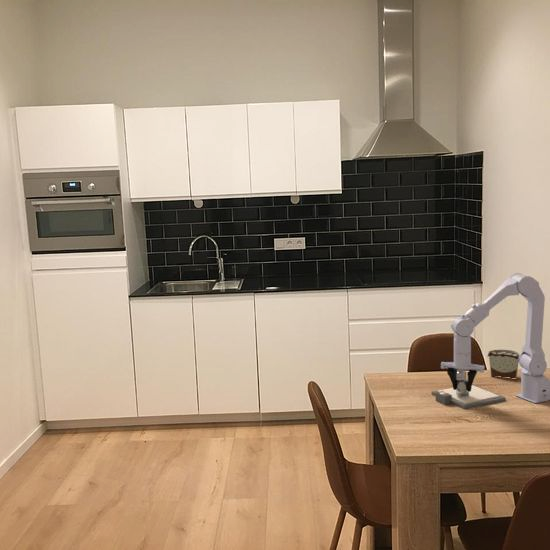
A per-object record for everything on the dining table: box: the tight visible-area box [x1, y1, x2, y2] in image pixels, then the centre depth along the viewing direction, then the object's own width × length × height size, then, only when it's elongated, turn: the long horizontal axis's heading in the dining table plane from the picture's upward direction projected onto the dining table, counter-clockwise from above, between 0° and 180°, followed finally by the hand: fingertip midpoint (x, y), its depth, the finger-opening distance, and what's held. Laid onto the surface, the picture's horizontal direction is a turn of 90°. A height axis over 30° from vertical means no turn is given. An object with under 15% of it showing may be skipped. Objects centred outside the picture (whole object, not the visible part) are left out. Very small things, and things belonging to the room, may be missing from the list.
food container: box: [487, 349, 521, 379], centre depth 245 cm, size 12×6×10 cm, turn 58°
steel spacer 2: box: [456, 378, 469, 396], centre depth 220 cm, size 4×4×5 cm
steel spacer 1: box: [457, 370, 467, 379], centre depth 238 cm, size 4×4×5 cm
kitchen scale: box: [431, 384, 507, 410], centre depth 222 cm, size 18×21×3 cm
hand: (462, 389), depth 219 cm, fingers closed on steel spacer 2, 4 cm apart
